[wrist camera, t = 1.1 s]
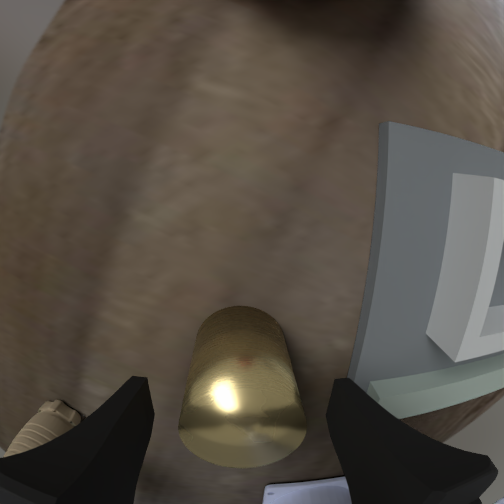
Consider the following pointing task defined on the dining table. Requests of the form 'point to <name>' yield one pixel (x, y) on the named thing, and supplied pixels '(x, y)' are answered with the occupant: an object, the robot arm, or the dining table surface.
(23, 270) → the dining table surface
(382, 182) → the jig
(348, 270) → the dining table surface
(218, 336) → the brass cylinder
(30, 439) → the handle
